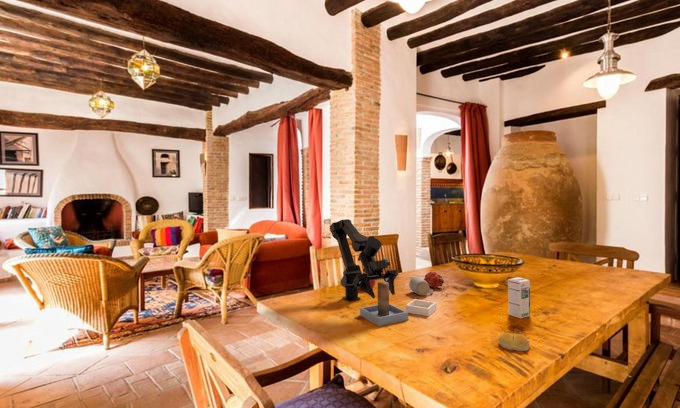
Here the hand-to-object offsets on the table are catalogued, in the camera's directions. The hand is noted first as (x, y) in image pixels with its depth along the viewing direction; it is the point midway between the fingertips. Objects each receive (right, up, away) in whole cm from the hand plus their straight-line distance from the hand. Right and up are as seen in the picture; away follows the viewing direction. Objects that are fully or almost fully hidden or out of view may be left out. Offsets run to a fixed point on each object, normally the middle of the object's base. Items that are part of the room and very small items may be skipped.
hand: (384, 296), depth 144 cm
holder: (+16, -8, +8) cm, 20 cm away
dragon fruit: (+31, -7, +45) cm, 55 cm away
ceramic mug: (+22, -7, +34) cm, 41 cm away
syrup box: (+54, -8, +1) cm, 54 cm away
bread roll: (+38, -10, -27) cm, 48 cm away
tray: (0, -9, +1) cm, 9 cm away
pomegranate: (-4, -7, +44) cm, 45 cm away
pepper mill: (0, -7, +1) cm, 7 cm away
